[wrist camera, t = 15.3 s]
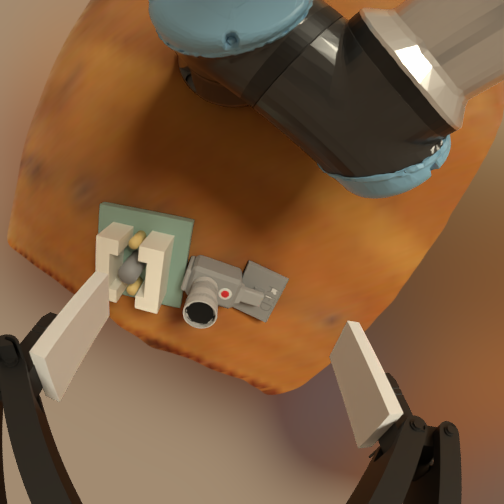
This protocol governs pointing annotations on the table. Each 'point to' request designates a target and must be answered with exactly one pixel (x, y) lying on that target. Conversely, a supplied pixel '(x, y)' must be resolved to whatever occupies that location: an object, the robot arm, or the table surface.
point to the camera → (228, 290)
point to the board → (149, 226)
